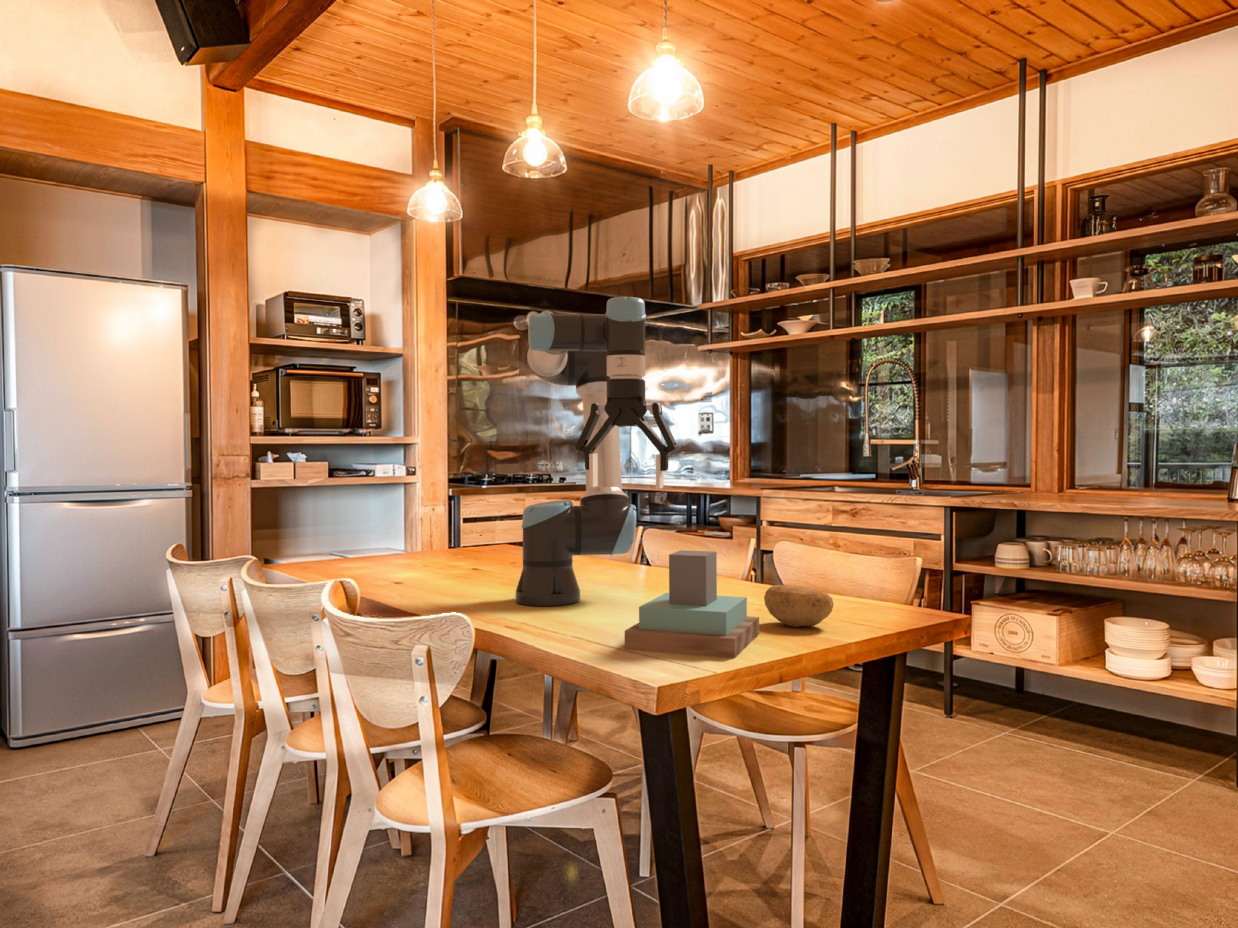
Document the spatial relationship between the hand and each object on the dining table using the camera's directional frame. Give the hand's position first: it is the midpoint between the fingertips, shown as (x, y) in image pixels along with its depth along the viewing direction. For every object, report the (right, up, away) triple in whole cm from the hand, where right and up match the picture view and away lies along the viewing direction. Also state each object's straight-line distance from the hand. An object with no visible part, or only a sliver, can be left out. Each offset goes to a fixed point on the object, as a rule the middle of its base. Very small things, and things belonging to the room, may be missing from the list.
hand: (626, 487), depth 171 cm
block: (+12, -21, -9) cm, 26 cm away
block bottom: (+12, -29, -9) cm, 33 cm away
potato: (+34, -28, +4) cm, 45 cm away
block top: (+12, -25, -9) cm, 29 cm away
